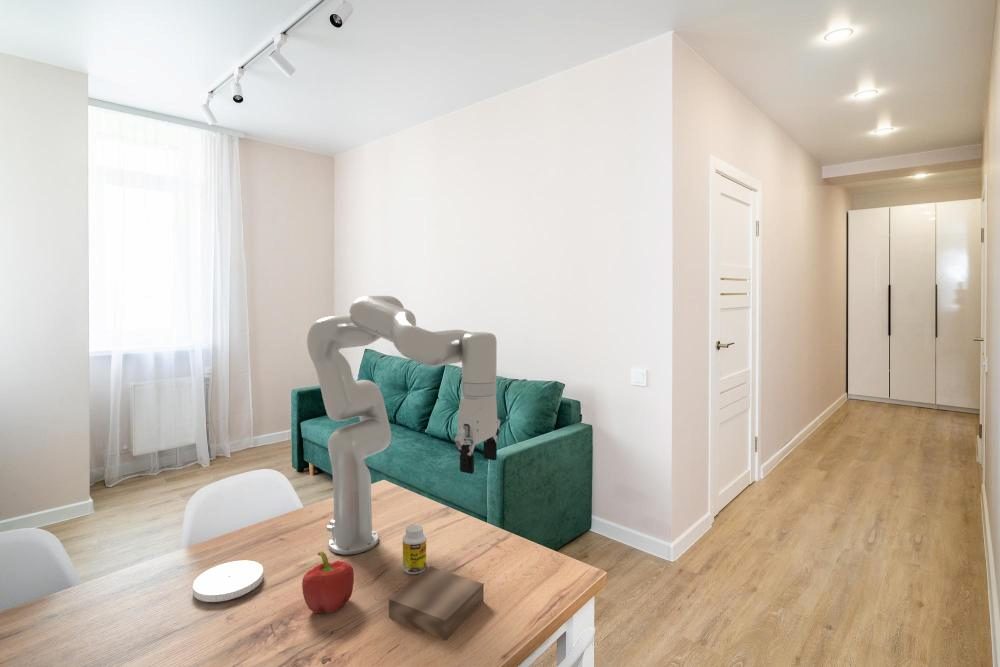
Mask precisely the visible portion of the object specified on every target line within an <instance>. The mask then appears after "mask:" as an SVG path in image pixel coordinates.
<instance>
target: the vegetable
mask: <svg viewBox="0 0 1000 667" xmlns="http://www.w3.org/2000/svg"><path fill="white" fill-rule="evenodd" d="M317 556H320V557H321V560H322V563H320V564H317V565H316V566H314V567H312V569H308V571H306V572H305V574H304V576H302V581H301V585H302V586H301V588H302V595H303V599H304V602H305V604H306V606H307V607H308V609H309V610H310V611H312V613H315V614H321V613H324V612H327V613H332V612H335V611H337V610H339V609H340V608H341V607H342V606H344V605H345V604H347V603H348V602H349V600H350V599H351V597H352V595H353V589H354V583H355V582H354V581H355V574H354V572H355V571H354V568H353V566H352V565H351V564H350V563H348V562H345V561H341V560H336V561H334V562H329V559H328V557H327V554H326V553H325V552H323V551H319V552H317Z"/></svg>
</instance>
